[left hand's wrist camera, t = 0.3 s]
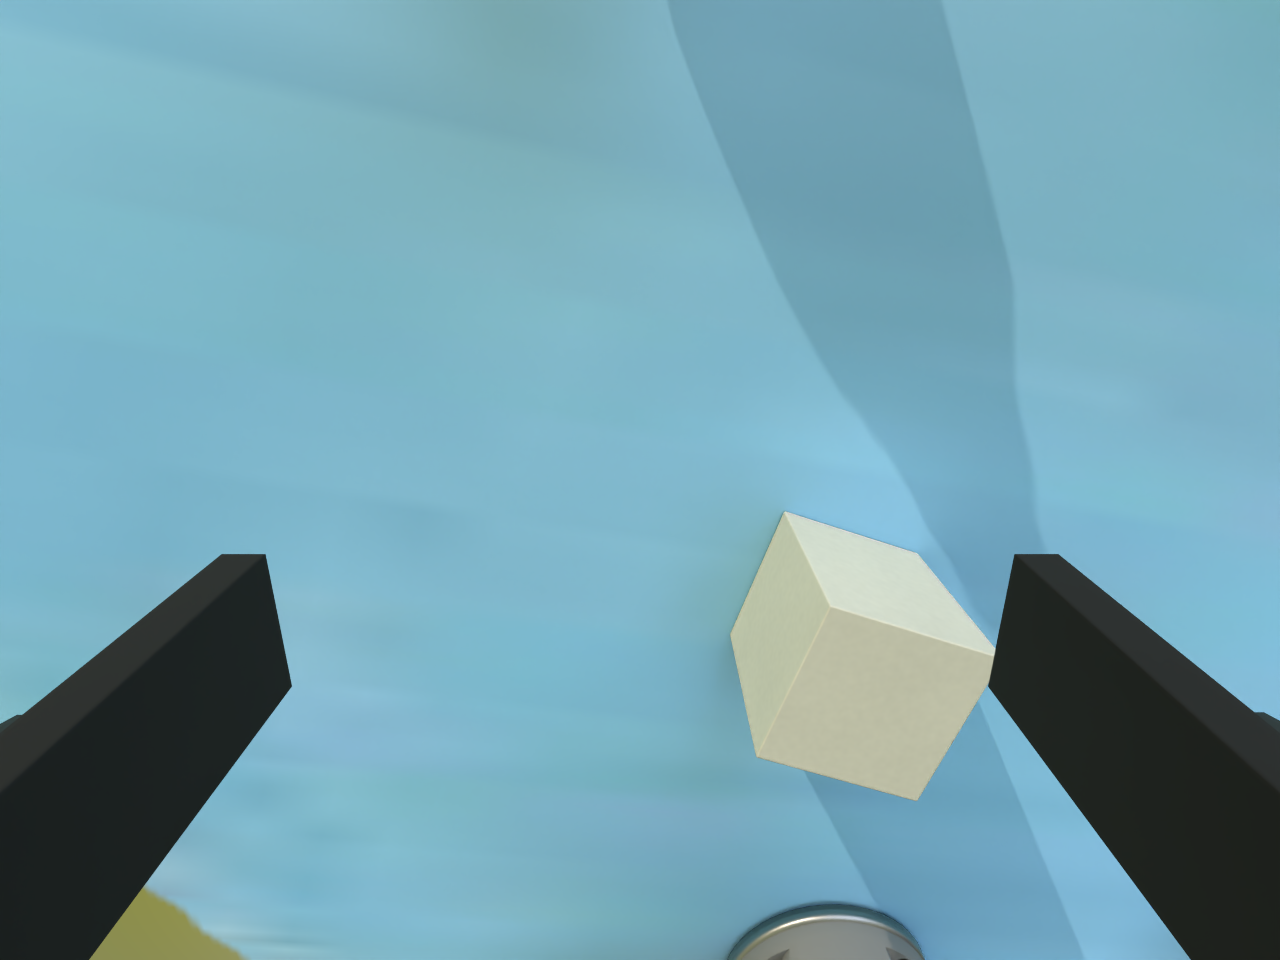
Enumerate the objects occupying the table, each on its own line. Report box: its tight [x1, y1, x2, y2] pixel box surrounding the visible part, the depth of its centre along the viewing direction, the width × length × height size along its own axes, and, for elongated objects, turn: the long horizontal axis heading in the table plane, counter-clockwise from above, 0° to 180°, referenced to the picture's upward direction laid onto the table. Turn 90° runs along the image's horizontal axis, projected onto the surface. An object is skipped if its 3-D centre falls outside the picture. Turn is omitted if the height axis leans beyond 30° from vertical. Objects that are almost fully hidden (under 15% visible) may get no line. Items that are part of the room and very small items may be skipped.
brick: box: [730, 512, 995, 801], centre depth 38 cm, size 8×9×11 cm
